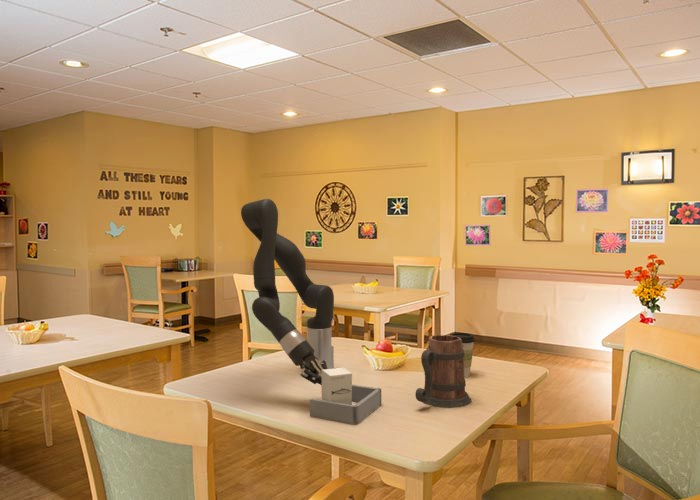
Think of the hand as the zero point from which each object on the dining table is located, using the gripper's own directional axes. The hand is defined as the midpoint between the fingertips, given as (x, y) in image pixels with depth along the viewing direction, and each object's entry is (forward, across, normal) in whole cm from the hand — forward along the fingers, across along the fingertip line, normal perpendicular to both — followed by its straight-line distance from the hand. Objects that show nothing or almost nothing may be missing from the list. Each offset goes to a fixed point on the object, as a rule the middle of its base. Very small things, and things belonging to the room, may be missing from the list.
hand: (331, 390), depth 164 cm
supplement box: (+6, -3, +1) cm, 7 cm away
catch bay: (+7, 0, 0) cm, 7 cm away
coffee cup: (+23, +52, -16) cm, 59 cm away
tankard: (+24, +20, -16) cm, 35 cm away
